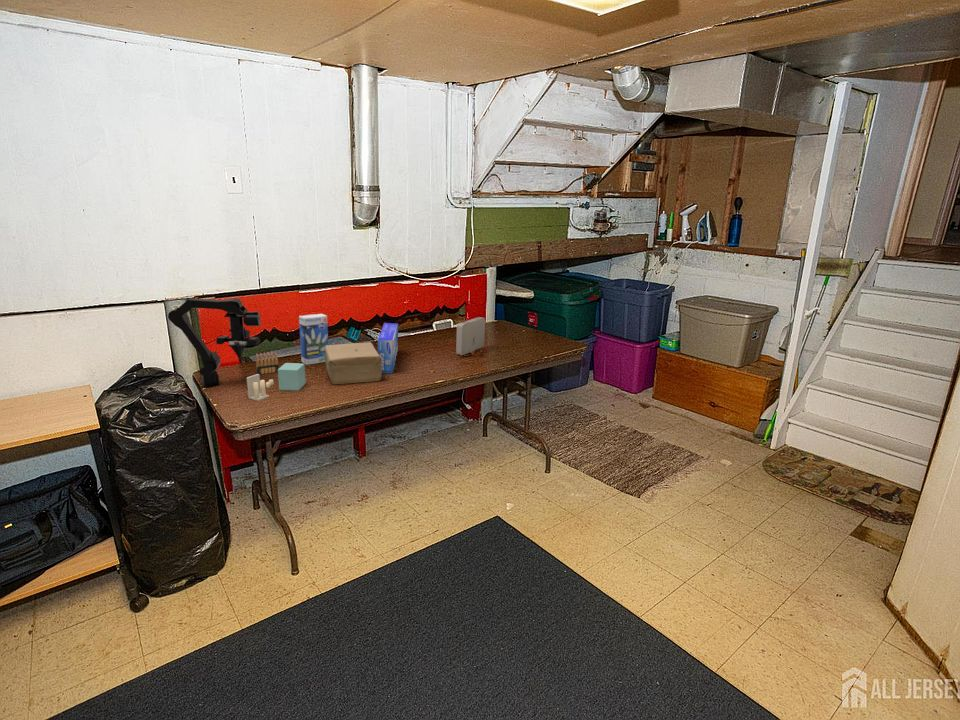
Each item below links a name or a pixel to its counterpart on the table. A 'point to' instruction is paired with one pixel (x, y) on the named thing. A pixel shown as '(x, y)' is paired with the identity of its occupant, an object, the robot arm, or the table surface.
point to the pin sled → (256, 388)
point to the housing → (291, 376)
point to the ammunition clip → (267, 364)
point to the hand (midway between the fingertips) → (240, 358)
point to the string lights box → (313, 338)
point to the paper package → (353, 363)
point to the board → (269, 383)
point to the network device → (470, 335)
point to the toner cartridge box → (388, 346)
